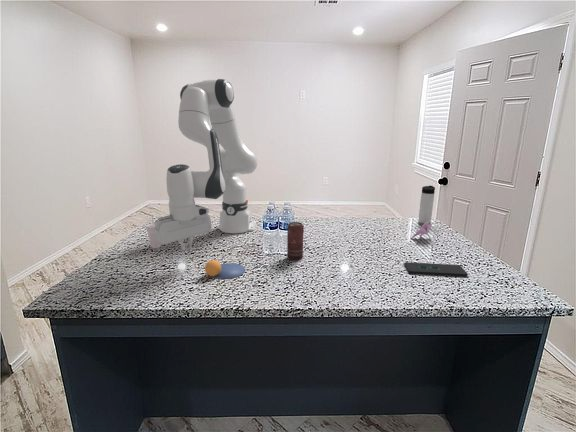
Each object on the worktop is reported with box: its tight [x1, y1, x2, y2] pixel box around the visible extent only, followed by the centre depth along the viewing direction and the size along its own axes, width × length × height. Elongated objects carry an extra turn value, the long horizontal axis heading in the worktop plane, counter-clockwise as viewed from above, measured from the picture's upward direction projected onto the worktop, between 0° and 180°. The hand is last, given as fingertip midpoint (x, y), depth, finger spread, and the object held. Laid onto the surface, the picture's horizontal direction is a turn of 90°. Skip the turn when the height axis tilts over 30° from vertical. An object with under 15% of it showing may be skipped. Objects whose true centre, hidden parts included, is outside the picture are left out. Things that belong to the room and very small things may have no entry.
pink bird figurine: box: [410, 221, 437, 242], centre depth 154 cm, size 12×12×10 cm
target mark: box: [210, 262, 246, 280], centre depth 121 cm, size 13×13×1 cm
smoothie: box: [145, 215, 162, 249], centre depth 142 cm, size 6×6×14 cm
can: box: [286, 221, 305, 261], centre depth 131 cm, size 6×6×14 cm
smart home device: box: [403, 261, 469, 278], centre depth 123 cm, size 8×2×20 cm
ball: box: [204, 259, 221, 277], centre depth 117 cm, size 6×6×6 cm
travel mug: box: [417, 185, 436, 226], centre depth 178 cm, size 6×7×20 cm
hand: (186, 248), depth 122 cm, fingers closed
